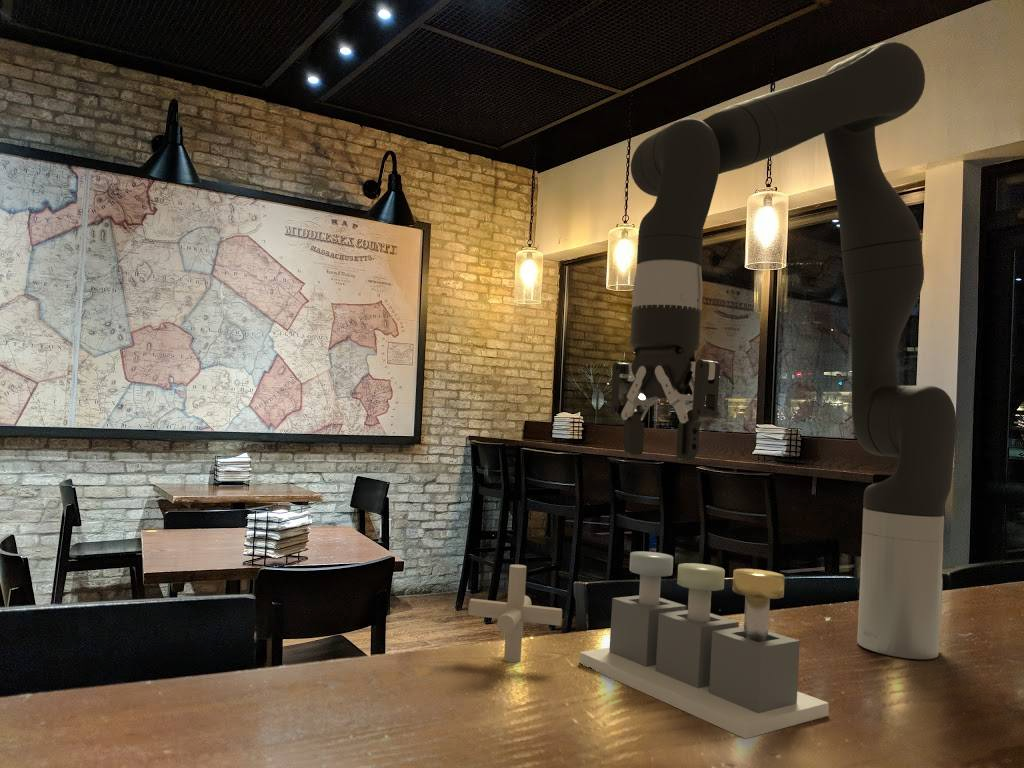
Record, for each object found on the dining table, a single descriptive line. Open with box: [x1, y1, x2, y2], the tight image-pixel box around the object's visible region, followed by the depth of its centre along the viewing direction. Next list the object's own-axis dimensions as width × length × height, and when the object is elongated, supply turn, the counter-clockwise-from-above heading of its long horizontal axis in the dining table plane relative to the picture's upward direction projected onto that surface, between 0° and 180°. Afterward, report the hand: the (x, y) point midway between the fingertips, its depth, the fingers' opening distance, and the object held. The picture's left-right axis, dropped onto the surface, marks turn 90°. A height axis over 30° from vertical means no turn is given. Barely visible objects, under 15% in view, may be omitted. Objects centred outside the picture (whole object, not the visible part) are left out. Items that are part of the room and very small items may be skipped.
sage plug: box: [676, 562, 726, 623], centre depth 80 cm, size 5×5×8 cm
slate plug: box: [629, 550, 674, 607], centre depth 86 cm, size 5×5×8 cm
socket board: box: [578, 595, 830, 740], centre depth 80 cm, size 12×22×7 cm, turn 35°
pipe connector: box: [467, 564, 563, 663], centre depth 86 cm, size 10×10×10 cm
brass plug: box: [732, 568, 786, 642], centre depth 74 cm, size 5×5×8 cm
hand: (658, 456), depth 86 cm, fingers open, 7 cm apart
